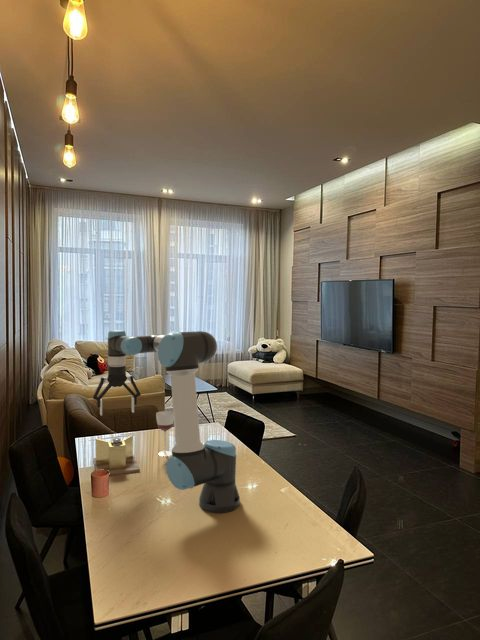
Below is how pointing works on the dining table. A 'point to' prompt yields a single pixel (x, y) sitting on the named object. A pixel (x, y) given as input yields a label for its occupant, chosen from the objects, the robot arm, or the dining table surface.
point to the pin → (116, 441)
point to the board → (130, 467)
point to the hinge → (114, 452)
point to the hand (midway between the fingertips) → (117, 413)
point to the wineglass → (165, 427)
